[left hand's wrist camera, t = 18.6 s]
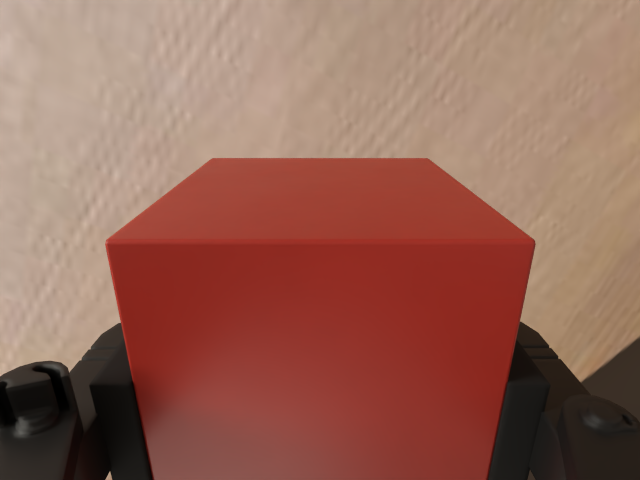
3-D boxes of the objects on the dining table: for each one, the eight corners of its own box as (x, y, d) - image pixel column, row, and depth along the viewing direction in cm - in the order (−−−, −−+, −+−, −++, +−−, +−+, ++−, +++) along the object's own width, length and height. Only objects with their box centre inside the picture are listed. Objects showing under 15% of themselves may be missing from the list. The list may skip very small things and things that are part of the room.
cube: (409, 368, 17) (471, 570, 10) (230, 368, 17) (169, 570, 10) (429, 157, 14) (538, 240, 7) (210, 157, 14) (101, 240, 7)
